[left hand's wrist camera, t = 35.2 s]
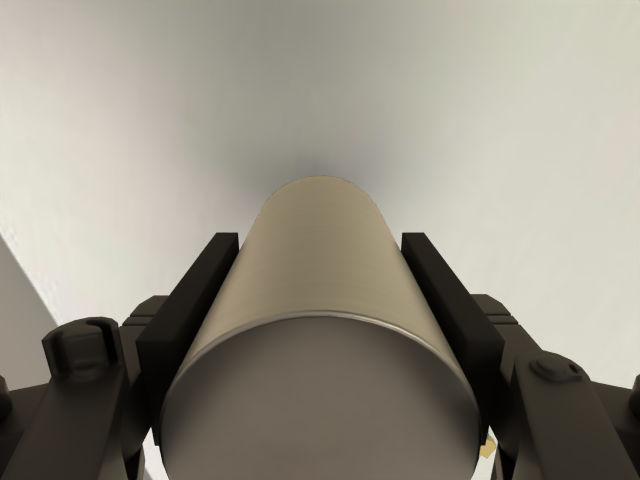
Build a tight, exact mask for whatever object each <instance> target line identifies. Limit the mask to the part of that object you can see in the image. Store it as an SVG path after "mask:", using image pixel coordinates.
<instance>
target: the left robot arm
mask: <svg viewBox="0 0 640 480" xmlns="http://www.w3.org/2000/svg"><path fill="white" fill-rule="evenodd" d="M238 253H239V241H238V233H216V234H215V235H214V237H213V238H212V239H211V241H210V242H209V243H208V245H207V246H206V247H205V249H204V250H203V251H202V253H201V254H200V255H199V257H198V258H197V259H196V261H195V262H194V263H193V265H192V266H191V267H190V269H189V270H188V271H187V273H186V274H185V275H184V277H183V278H182V279H181V281H180V282H179V283H178V285H177V286H176V287H175V289H174V290H173V291H172V292H171V294H170V295H169V296H152V297H151V298H149V299H147V300H146V301H144V302H142V303H141V304H139V305H138V306H137V307H136V309H135V310H134V311H133V312H132V313H131V314H130V317H128V318H127V319H126V320H125V321H124V322H123V324H122V326H120V327H118V323H117V322H116V321H115V320H113V319H111V318H106V317H88V318H83V319H79V320H74V321H72V322H69V323H66V324H64V325H61V326H59V327H58V328H56V329H54V330H53V331H51V332H49V333H48V334H47V335H46V336H45V337H44V338H43V339H42V345H43V348H44V352H45V355H46V359H47V362H48V366H49V369H50V373H51V376H52V377H51V379H50V381H49V383H46V384H42V385H38V386H33V387H28V388H23V389H18V390H13V391H9V390H8V387H7V384H6V381H5V379H4V378H3V377H2V376H1V375H0V480H143V474H144V466H145V456H144V449H143V445H142V443H143V441H144V439H145V437H146V435H147V433H148V431H149V430H150V428H152V433H153V439H154V444H155V446H159V429H158V427H159V420H160V412H161V408H162V405H163V402H164V399H165V396H166V393H167V392H168V390H169V388H170V386H171V384H172V382H173V380H174V378H175V376H176V374H177V372H178V370H179V368H180V366H181V364H182V362H183V360H184V358H185V356H186V354H187V353H188V351H189V349H190V347H191V345H192V343H193V341H194V339H195V337H196V335H197V333H198V331H199V329H200V327H201V325H202V323H203V321H204V319H205V317H206V316H207V314H208V312H209V310H210V308H211V306H212V304H213V302H214V300H215V298H216V296H217V294H218V292H219V290H220V288H221V286H222V284H223V282H224V280H225V279H226V277H227V275H228V273H229V271H230V269H231V267H232V265H233V263H234V261H235V259H236V257H237V255H238ZM401 253H402V255H403V257H404V259H405V261H406V262H407V264H408V266H409V268H410V270H411V272H412V274H413V276H414V278H415V280H416V282H417V284H418V286H419V288H420V290H421V292H422V293H423V295H424V297H425V299H426V301H427V303H428V305H429V307H430V309H431V311H432V313H433V315H434V317H435V319H436V321H437V323H438V324H439V326H440V328H441V330H442V332H443V334H444V336H445V338H446V340H447V342H448V344H449V346H450V348H451V350H452V352H453V353H454V355H455V357H456V359H457V361H458V363H459V365H460V367H461V369H462V371H463V373H464V375H465V377H466V379H467V381H468V383H469V384H470V386H471V388H472V390H473V393H474V396H475V398H476V401H477V404H478V407H479V412H480V417H481V424H482V443H481V446H485V445H486V440H487V435H488V429H489V425H490V427H491V429H492V431H493V433H494V435H495V437H496V439H497V441H498V445H497V449H496V454H495V459H494V464H493V469H492V474H491V480H640V374H639V375H638V376H637V377H636V379H635V382H634V385H633V388H632V389H627V388H622V387H617V386H612V385H607V384H602V383H597V382H593V381H591V380H590V378H589V376H588V375H587V374H586V372H585V371H584V370H583V369H582V367H580V366H579V365H577V364H576V363H574V362H573V361H572V360H570V359H568V358H565V357H563V356H561V355H559V354H556V353H552V352H548V351H544V350H542V349H541V348H540V347H539V346H538V345H537V343H536V342H535V341H534V340H533V339H532V338H531V336H530V335H529V334H528V333H527V332H526V331H525V330H524V328H523V327H522V326H521V325H518V322H517V320H516V319H515V318H514V317H513V316H511V313H510V312H509V311H508V310H507V309H506V308H505V307H504V305H503V304H502V303H500V302H499V301H497V300H495V299H494V298H492V297H490V296H489V295H487V294H470V293H469V292H468V291H467V289H466V288H465V287H464V285H463V284H462V283H461V281H460V280H459V279H458V278H457V276H456V275H455V274H454V272H453V271H452V270H451V268H450V267H449V266H448V264H447V263H446V262H445V260H444V259H443V258H442V256H441V255H440V254H439V252H438V251H437V250H436V248H435V247H434V246H433V244H432V243H431V242H430V240H429V239H428V238H427V236H426V235H425V234H424V233H402V244H401Z"/></svg>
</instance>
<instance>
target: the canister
mask: <svg viewBox="0 0 640 480" xmlns="http://www.w3.org/2000/svg"><path fill="white" fill-rule="evenodd" d="M158 429H159V449H160V453H161V458H162V463H163V465H164V468H165V470H166V473H167V476H168V478H169V480H471V478H472V476H473V474H474V472H475V469H476V466H477V463H478V460H479V455H480V449H481V443H482V424H481V417H480V412H479V407H478V404H477V401H476V398H475V396H474V393H473V390H472V388H471V386H470V384H469V383H468V381H467V379H466V377H465V375H464V373H463V371H462V369H461V367H460V365H459V363H458V361H457V359H456V357H455V355H454V353H453V352H452V350H451V348H450V346H449V344H448V342H447V340H446V338H445V336H444V334H443V332H442V330H441V328H440V326H439V324H438V323H437V321H436V319H435V317H434V315H433V313H432V311H431V309H430V307H429V305H428V303H427V301H426V299H425V297H424V295H423V293H422V292H421V290H420V288H419V286H418V284H417V282H416V280H415V278H414V276H413V274H412V272H411V270H410V268H409V266H408V264H407V262H406V261H405V259H404V257H403V255H402V253H401V251H400V249H399V247H398V245H397V243H396V241H395V239H394V237H393V235H392V233H391V231H390V230H389V228H388V226H387V224H386V222H385V220H384V218H383V216H382V214H381V212H380V210H379V209H378V207H377V205H376V204H375V203H374V201H373V200H372V199H371V198H370V197H369V196H368V195H367V194H366V193H365V192H364V191H363V190H361V189H360V188H359V187H357V186H355V185H354V184H352V183H350V182H348V181H345V180H343V179H339V178H335V177H329V176H311V177H304V178H301V179H298V180H295V181H292V182H290V183H288V184H286V185H285V186H283V187H281V188H280V189H278V190H277V191H276V192H275V193H274V194H273V195H272V196H271V197H270V198H269V199H268V200H267V201H266V203H265V204H264V205H263V207H262V208H261V210H260V212H259V214H258V216H257V218H256V220H255V222H254V224H253V226H252V228H251V230H250V232H249V234H248V236H247V238H246V240H245V242H244V243H243V245H242V247H241V249H240V251H239V253H238V255H237V257H236V259H235V261H234V263H233V265H232V267H231V269H230V271H229V273H228V275H227V277H226V279H225V280H224V282H223V284H222V286H221V288H220V290H219V292H218V294H217V296H216V298H215V300H214V302H213V304H212V306H211V308H210V310H209V312H208V314H207V316H206V317H205V319H204V321H203V323H202V325H201V327H200V329H199V331H198V333H197V335H196V337H195V339H194V341H193V343H192V345H191V347H190V349H189V351H188V353H187V354H186V356H185V358H184V360H183V362H182V364H181V366H180V368H179V370H178V372H177V374H176V376H175V378H174V380H173V382H172V384H171V386H170V388H169V390H168V392H167V393H166V396H165V399H164V402H163V405H162V408H161V412H160V420H159V427H158Z"/></svg>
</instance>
